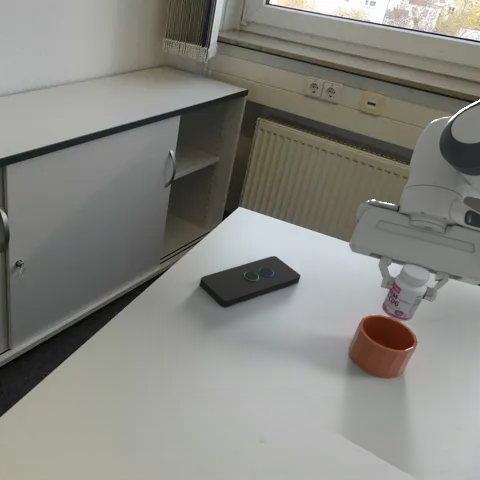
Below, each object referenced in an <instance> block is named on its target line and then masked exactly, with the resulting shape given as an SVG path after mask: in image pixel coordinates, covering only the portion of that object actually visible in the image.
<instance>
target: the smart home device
mask: <svg viewBox="0 0 480 480" xmlns="http://www.w3.org/2000/svg"><path fill="white" fill-rule="evenodd" d="M300 279H301V274H300V273H298V272H297V271H296V270H295V269H293V268H292V267H291V266H289V265H288V264H287V263H285V262H284V261H283V260H282V259H280V258H279V257H278V256H276V255H272V256H268V257H265V258H264V257H263V258H261V259H257V260H255V261H251V262H248V263H244V264H241V265H237V266H234V267H231V268H227V269H225V270H220V271H217V272H214V273H210V274H207V275H204V276H202V277H201V278H200V280H199V286H200V287H201V288H202V289H203V290H204V291H205V292H206V293H207V294H208V295H209V296H210V297H211V298H212V299H213V300H214V301H215V302H216V303H217V304H219V306H221V307H222V308H227V307H232V306H234V305H237V304H241V303H243V302H246V301H249V300H252V299H255V298H258V297H261V296H263V295H267V294H270V293H273V292H276V291H279V290H283V289H285V288H289V287H291V286H294V285H296V284H298V283H299V281H300Z"/></svg>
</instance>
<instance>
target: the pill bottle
mask: <svg viewBox="0 0 480 480" xmlns="http://www.w3.org/2000/svg"><path fill="white" fill-rule="evenodd" d="M394 278H395V281H394V282H393V284H394V285H393V288H392V289H391V290H390V289H388V291H387V293H386V296H385V298H384V300H383V302H382V305H381V309H382V311H383V313H384V314H385V315H386V316H387V317H391V318H393V319H395V320H397V321H400V322H408V321H411V320H412V319H413V318H414V316H415V314H416V312H417V311H418V308H419V306H420V304H421V302H422V300H423V299H422V298H423V296H424V294H425V293H426V290H427V287H428V286H427V284H428V283H429V281H430V278H431V273H429V272H428V271H427V270H426V269H424V268H423V267H421V266H418V265H415V264H406V265H404V266H402V267H401V270H400V272H399V273H398V274H397V275H396V276H395V277H394Z"/></svg>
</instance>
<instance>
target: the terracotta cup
mask: <svg viewBox="0 0 480 480" xmlns="http://www.w3.org/2000/svg"><path fill="white" fill-rule="evenodd" d="M418 342H419V341H418V339H417V336H416V334H415V333H414V332H413V331H412V330H411V328H410V327H408V326H407V325H406V324H404V323H403V322H402V321H398V320H395V319H393V318H391V317H389V316H388V315H382V314H368V315H366V316H364V317H362V318H361V319H360V322H359V323H358V326H357V327H356V329H355V333H354V335H353V337H352V339H351V342H350V344H349V347H348V353H349V357H350V358H351V360H352V362H353V363H354V364H355V365H356V366H357V367H358V368H360V369H361V370H362V371H364V372H366V373H368V374H370V375H372V376H375V377H378V378H383V379H394V378H398V377H399V376H401V375H402V374H403V373H404V371H405V369H406V367H407V366H408V363H409V362H410V360H411V358H412V356H413V354H414V352H415V350H416V348H417V346H418V344H419V343H418Z"/></svg>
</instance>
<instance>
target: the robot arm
mask: <svg viewBox="0 0 480 480" xmlns="http://www.w3.org/2000/svg"><path fill="white" fill-rule="evenodd" d="M467 197H468V198H471V199H476V200H480V99H479V100H478V101H475V102H473V103H471V104H469V105H467V106H466V107H463V108H462V109H460V110H459V111H457V113H455V114H454V115H453V116H452V115H451V116H444V117H440V118H437V119H434V120H433V121H431V122H430V123H428V124H427V125H426V127H425V128H424V129H423V130H422V132H421V134H420V135H419V136H418V140H417V142H416V144H415V146H414V150H413V152H412V155H411V159H410V162H409V165H408V180H407V182H406V183H405V185H404V187H403V189H402V191H401V195H400V200H399V203H398V205H397V204H392V203H389V202H388V203H387V202H382V201H379V200H376V199H370V200H366V201H363V202H361V203H359V205H358V206H357V208H356V212H355V220H356V222H357V224H356V226H355V228H354V229H353V231H352V235H351V237H350V239H349V243H348V246H349V249H350V251H351V252H353V253H355V254H359V255H363V256H367V257H369V258H373V259H376V260H379V262H378V269H379V271H380V275H381V277H382V279H381V283H380V288H383V289H385V290H389V289H390V290H391V289H392V288H393V285H394V284H393V282H394V281H395V277H394V276H391V275H390V274H391V273H390V271H389V268H388V267H390V266H391V264H395V265H398V266H402V267H403V266H404V265H406V264H415V265H418V266H421V267H423V268H424V269H426V270H427V271H428V272H429V273H430V274H433V275H435V276H434V279H433V281H434V282H436V283H435V284H434V285H433V286H432V287H429V286H427V290H426V293H425V294H424V296H423V298H422V300H424V301H428V302H432V303H433V302H434V301H435V300H436V298H437V294H438V291H439V290H440V289H441V288H442V287H443V286H445V285H446V284H447V283H448V282H449V280H450V279H451V280H453V281H457V282H461V283H465V284H468V285H472V286H478V285H480V212H479V211H477V210H476V209H474V208H472V207H470V206H469V205H467V204H465V203H464V202H465V198H467Z"/></svg>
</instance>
